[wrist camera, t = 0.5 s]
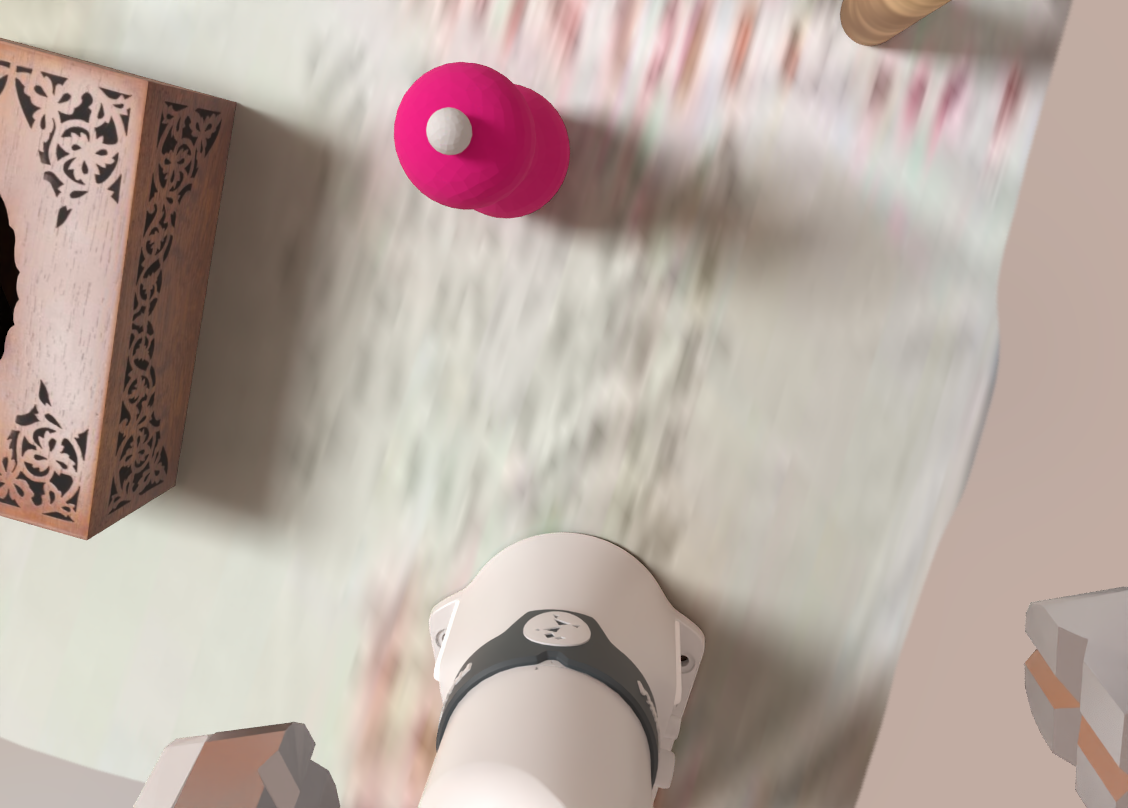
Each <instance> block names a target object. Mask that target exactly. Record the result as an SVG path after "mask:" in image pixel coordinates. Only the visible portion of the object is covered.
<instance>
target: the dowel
mask: <svg viewBox="0 0 1128 808" xmlns="http://www.w3.org/2000/svg"><path fill="white" fill-rule="evenodd" d="M949 1H951V0H843V2H842V6H841V12H840V18H841V24H842V27H843V29H844V31H845V33H846V34H847V35H848V36H849V38H851V39H852V40H853V41H855V42H856V43H859V44H862V45H867V46H873V45H878V44H881V43H884V42H886V41H887V40H889V39H891V38H892V37H894V36H895V35H897V34H899V33H900V32H902V31H903V30H905V29H907V28H908V27H910V26H911V25H913V24H914V23H916V22H918V21H919V20H921V19H922V18H924V17H926V16H927V15H929V14H930V13H932V12H934V11H935V10H937V9H938V8H940V7H941V6H943V5H945V4H946V3H948V2H949Z"/></svg>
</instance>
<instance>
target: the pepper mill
mask: <svg viewBox="0 0 1128 808" xmlns="http://www.w3.org/2000/svg"><path fill="white" fill-rule="evenodd" d="M394 140H395V147H396V152H397V155H398V158H399V160H400V163H401V165H402V167H403V169H404V171H405V173H406V175H407V176H408V178H409V179H410V180H411V182H412V183H413V184H414V185H415V186H416V187H417V188H418V189H419V190H420V191H421V192H422V193H423V194H424V195H426V196H427V197H429V198H430V199H431V200H434V201H436V202H438V203H440V204H442V205H445V206H448V207H452V208H457V209H474V210H476V211H478V212H481V213H483V214H485V215H488V216H492V217H496V218H515V217H521V216H524V215H527V214H530V213H532V212H534V211H536V210H538V209H540V208H541V207H542V206H544V205H545V204H546V203H548V202H549V201H550V200H551V199H552V197H553V196H554V195H555V194H556V193H557V191H558V190H559V188H560V186H561V185H562V183H563V181H564V178H565V176H566V173H567V169H568V165H569V157H570V146H569V139H568V134H567V130H566V128H565V125H564V123H563V120H562V119H561V117H560V115H559V114H558V112H557V111H556V109H555V108H554V107H553V106H552V104H551V103H550V102H548V101H547V100H546V99H545V98H544V97H543V96H541V95H540V94H538V93H536V92H535V91H533V90H531V89H529V88H526V87H523V86H521V85H516V84H513V83H512V82H511V81H510V80H509V79H508V78H507V77H505V76H504V75H502V74H500V73H499V72H497V71H495V70H494V69H492V68H489V67H487V66H484V65H480V64H476V63H465V62H456V63H448V64H445V65H442V66H439V67H436V68H434V69H432V70H430V71H429V72H427V73H425V74H424V75H422V76H421V77H420V78H419V79H418V80H416V81H415V82H414V84H413V85H412V86H411V87H410V88H409V90H408V91H407V92H406V94H405V95H404V97H403V99H402V101H401V103H400V105H399V108H398V111H397V115H396V119H395V124H394Z"/></svg>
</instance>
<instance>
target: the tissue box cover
mask: <svg viewBox="0 0 1128 808" xmlns="http://www.w3.org/2000/svg"><path fill="white" fill-rule="evenodd" d="M235 108H236V102H233V101H229V100H226V99H222V98H218V97H215V96H211V95H207V94H204V93H200V92H196V91H193V90H189V89H186V88H182V87H178V86H175V85H171V84H167V83H164V82H160V81H156V80H153V79H149V78H146V77H142V76H138V75H135V74H131V73H127V72H124V71H120V70H116V69H113V68H109V67H105V66H102V65H98V64H95V63H91V62H87V61H84V60H80V59H76V58H73V57H69V56H65V55H62V54H58V53H55V52H51V51H47V50H44V49H40V48H36V47H33V46H29V45H25V44H22V43H18V42H14V41H11V40H7V39H3V38H0V285H1V288H2V290H3V292H4V294H5V297H6V299H7V301H8V303H9V306H10V308H11V310H12V312H13V315H14V316H13V321H14V324H15V325H14V326H12V327H11V328H10V329H9V331H8V333H7V336H6V340H5V348H4V354H3V356H2V358H1V360H0V516H3V517H7V518H10V519H14V520H17V521H21V522H24V523H28V524H31V525H35V526H38V527H42V528H45V529H49V530H52V531H56V532H59V533H63V534H66V535H70V536H73V537H77V538H80V539H84V540H88V539H90V538H91V537H93V536H95V535H96V534H98V533H99V532H101V531H103V530H104V529H106V528H108V527H109V526H111V525H112V524H114V523H116V522H117V521H119V520H120V519H122V518H124V517H125V516H127V515H128V514H130V513H132V512H133V511H135V510H137V509H138V508H140V507H141V506H143V505H145V504H146V503H148V502H149V501H151V500H153V499H154V498H156V497H158V496H159V495H161V494H162V493H164V492H166V491H167V490H169V489H170V488H172V487H174V486H175V482H176V476H177V470H178V464H179V457H180V451H181V445H182V439H183V432H184V426H185V420H186V414H187V408H188V401H189V395H190V389H191V383H192V376H193V370H194V364H195V358H196V351H197V345H198V339H199V333H200V326H201V320H202V314H203V308H204V301H205V295H206V289H207V283H208V276H209V270H210V264H211V258H212V252H213V245H214V239H215V233H216V227H217V220H218V214H219V208H220V202H221V195H222V189H223V183H224V177H225V170H226V164H227V158H228V152H229V145H230V139H231V133H232V127H233V120H234V114H235Z"/></svg>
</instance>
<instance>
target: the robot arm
mask: <svg viewBox="0 0 1128 808" xmlns="http://www.w3.org/2000/svg"><path fill="white" fill-rule="evenodd" d="M429 630H430V635H431V641H432V646H433V652H434V657H435V662H436V665H435V669H434V678H435V680H437V681H439V685H440V692H441V697H442V702H443V707H442V711H441V715H440V719H439V720H440V721H439V726H438V733H437V741H436V750H437V754H436V757H435V760H434V763H433V766H432V768H431V771H430V774H429V777H428V780H427V782H426V785H425V788H424V791H423V794H422V797H421V800H420V802H419V805H418V808H654V807H653V802H654V799H655V797H656V794H657V791H658V788H663V789H666V788H669V787H670V785H671V782H672V778H673V773H674V767H675V754H674V753H672V751H671V749H672V746H673V743H674V740H676V739H677V738H678V735H679V731H680V725H681V719H682V716H683V713H684V710H685V707H686V704H687V701H688V698H689V695H690V692H691V690H692V687H693V684H694V681H695V678H696V675H697V672H698V669H699V666H700V663H701V660H702V657H703V654H704V649H705V637H704V634H703V632H702V631H701V630H700V628H699V627H698V626H697V625H696V624H694V623H693V622H692V621H691V620H689V619H688V618H687V617H685V616H684V615H683V614H681V613H680V612H678V611H677V610H676V609H674V608H673V606H672V605H671V604H670V603H669V601H668V600H667V598H666V596H665V595H664V593H663V591H662V589H661V588H660V586H659V584H658V583H657V581H656V580H655V578H654V577H653V576H652V574H651V573H650V572H649V571H648V570H647V569H646V568H645V566H644V565H642V564H641V563H640V562H639V561H638V560H637V559H636V558H635V557H633V556H632V555H631V554H629V553H628V552H626V551H625V550H623V549H622V548H620V547H618V546H616V545H614V544H612V543H610V542H608V541H605V540H603V539H600V538H597V537H593V536H589V535H584V534H578V533H567V532H558V533H547V534H541V535H536V536H532V537H529V538H526V539H523V540H521V541H518V542H516V543H514V544H512V545H510V546H508V547H507V548H505V549H503V550H502V551H501V552H499V553H498V554H497V555H495V556H494V557H493V558H492V559H491V560H490V561H489V562H487V564H486V565H485V566H484V567H483V568H482V569H481V570H480V572H479V573H478V574H477V575H476V577H475V578H474V579H473V581H472V582H471V583H470V584H469V585H468V586H467V587H466V588H465V589H463V590H461V591H459V592H457V593H455V594H453V595H451V596H449V597H447V598H445V599H444V600H442V601H441V602H439V603H438V604H437V605H435V606H434V608H433V609H432V611H431V614H430V618H429ZM1025 632H1026V633H1027V635H1028V636H1029V638H1030V639H1031V640H1032V642H1033V644H1034V645H1035V646H1036V648H1037V649H1036V650H1035V651H1034V652H1033V654H1032V655H1031V656H1030V657H1029V658H1028V660H1027V661H1026V662H1025V689H1026V693H1027V696H1028V700H1029V704H1030V708H1031V712H1032V714H1033V717H1034V719H1035V721H1036V724H1037V726H1038V728H1039V730H1040V733H1041V734H1042V736H1043V738H1044V739H1045V741H1046V743H1047V744H1048V746H1049V747H1050V749H1051V751H1052V753H1054V754H1055V755H1057V756H1059V757H1061V758H1062V759H1064V760H1066V761H1067V762H1069V763H1071V764H1072V765H1074V766H1076V786H1075V788H1076V789H1075V790H1076V791H1077V793H1078V795H1079V796H1080V798H1081V799H1082V801H1083V803H1084V804H1085V806H1086V807H1087V808H1128V587H1119V588H1114V589H1108V590H1103V591H1096V592H1090V593H1084V594H1079V595H1073V596H1067V597H1061V598H1055V599H1049V600H1043V601H1037V602H1031V603H1030V605H1029V608H1028V610H1027V612H1026V628H1025ZM444 634H445V635H444ZM681 655H684V656H686V657H688V659H687V660H685V661H681ZM314 747H315V742H314V740H313V738H312V737H311V735H310V733H309V731H308V729H307V728H306V726H305V724H302V723H296V722H291V723H284V724H276V725H269V726H261V727H254V728H247V729H239V730H232V731H224V732H217V733H215V734H210V735H202V736H194V737H186V738H179V739H176V740H174V741H173V742H172V743H170V744H169V745H168V746H167V747H165V748H164V750H163V752H162V753H161V755H160V757H159V759H158V761H157V763H156V765H155V767H154V768H153V770H152V772H151V774H150V776H149V778H148V780H147V782H146V784H145V785H144V787H143V789H142V791H141V793H140V795H139V797H138V799H137V800H136V802H135V804H134V806H133V808H340V803H339V798H338V794H337V789H336V785H335V783H334V781H333V779H332V777H331V775H330V772H329V771H328V770H327V769H325V768H323V767H322V766H320V765H319V764H317V763H315V762H314V761H312V760H310V759H311V756H312V753H313V750H314Z"/></svg>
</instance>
